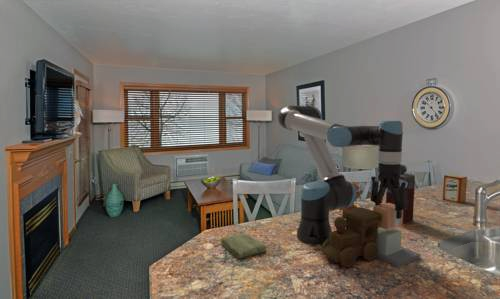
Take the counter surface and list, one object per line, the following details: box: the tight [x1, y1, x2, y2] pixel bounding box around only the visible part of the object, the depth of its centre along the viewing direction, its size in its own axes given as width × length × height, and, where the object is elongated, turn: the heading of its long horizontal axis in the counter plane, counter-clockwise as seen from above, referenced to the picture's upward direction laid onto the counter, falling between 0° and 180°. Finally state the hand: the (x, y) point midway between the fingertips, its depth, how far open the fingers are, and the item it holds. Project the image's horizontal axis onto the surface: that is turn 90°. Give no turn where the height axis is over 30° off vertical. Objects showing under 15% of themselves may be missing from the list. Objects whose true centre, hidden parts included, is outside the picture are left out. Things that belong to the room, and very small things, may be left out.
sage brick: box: [376, 227, 403, 254], centre depth 108 cm, size 9×6×7 cm, turn 120°
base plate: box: [375, 246, 421, 268], centre depth 108 cm, size 13×18×2 cm
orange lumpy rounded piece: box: [338, 181, 361, 212], centre depth 152 cm, size 11×11×18 cm
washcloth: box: [220, 233, 267, 259], centre depth 114 cm, size 13×18×3 cm
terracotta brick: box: [372, 202, 403, 230], centre depth 107 cm, size 9×6×7 cm, turn 120°
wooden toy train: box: [321, 207, 382, 268], centre depth 104 cm, size 20×11×17 cm, turn 116°
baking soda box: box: [442, 174, 468, 205], centre depth 176 cm, size 10×6×16 cm
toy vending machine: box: [385, 164, 416, 225], centre depth 142 cm, size 9×11×28 cm
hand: (387, 223), depth 107 cm, fingers closed on terracotta brick, 6 cm apart
